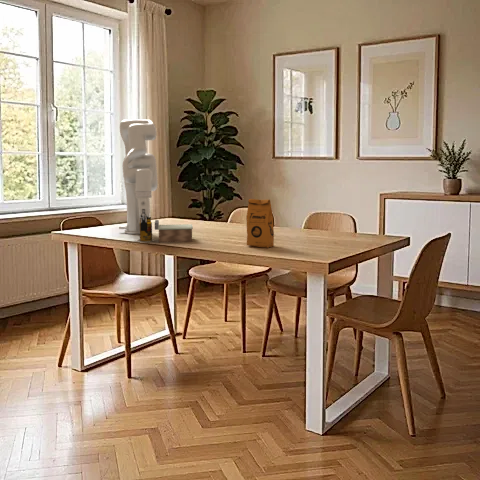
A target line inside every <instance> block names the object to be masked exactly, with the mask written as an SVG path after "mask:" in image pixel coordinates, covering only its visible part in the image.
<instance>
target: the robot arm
mask: <svg viewBox="0 0 480 480" xmlns="http://www.w3.org/2000/svg"><path fill="white" fill-rule="evenodd" d="M154 123H155V122H153V120H151V119H137V118H136V119H132V118H131V119H130V118H129V119H128V118H127V119H123V120H121V121H120V122H119V132H120V137H121V139H122V142H123V144H124V151H125V153H124V154H125V156H124V158H123V160H122V174H123V175H122V177H123V183H124V188H125V195H126V196H125V198H126V224H124V225H118V229H119V230H124V234H126V235H128V234H129V235H140V227H139V223H140V218H141V223H140V224H141V231H147V217H148V218H150V217H151V200H150V199H151V198H152V195H153V194H152V192H155V191H156V190H157V189H158V186H159V185H158V183H159V182H158V169H157V159H156V156H155V155H154V154H153V153H147V152H148V148H147V142H146V141H155V140H156V139H157V132H158V131H157V128H156V125H155V124H154ZM145 219H146V220H145Z"/></svg>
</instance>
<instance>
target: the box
mask: <svg viewBox="0 0 480 480" xmlns="http://www.w3.org/2000/svg"><path fill="white" fill-rule="evenodd" d="M192 242H193V229H167V230H158V243H192Z"/></svg>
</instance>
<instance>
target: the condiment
mask: <svg viewBox="0 0 480 480" xmlns="http://www.w3.org/2000/svg"><path fill="white" fill-rule="evenodd" d="M145 220H146V219H145ZM140 223H141V218H140ZM140 223H139V227H140V234H139V239H137V241H136V242H137V243H138V242H139V243H140V242H142V243H151V242H154V241H155V239H153V224H152V217H151V216H150V218H148V217H147V231H141V224H140Z"/></svg>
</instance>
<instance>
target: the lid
mask: <svg viewBox="0 0 480 480" xmlns="http://www.w3.org/2000/svg"><path fill="white" fill-rule="evenodd" d="M159 223H160V220H159V219H155V221H154V230H157V231H159V230H167V229H192V230H193V224H189V223H188V224H159Z"/></svg>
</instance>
